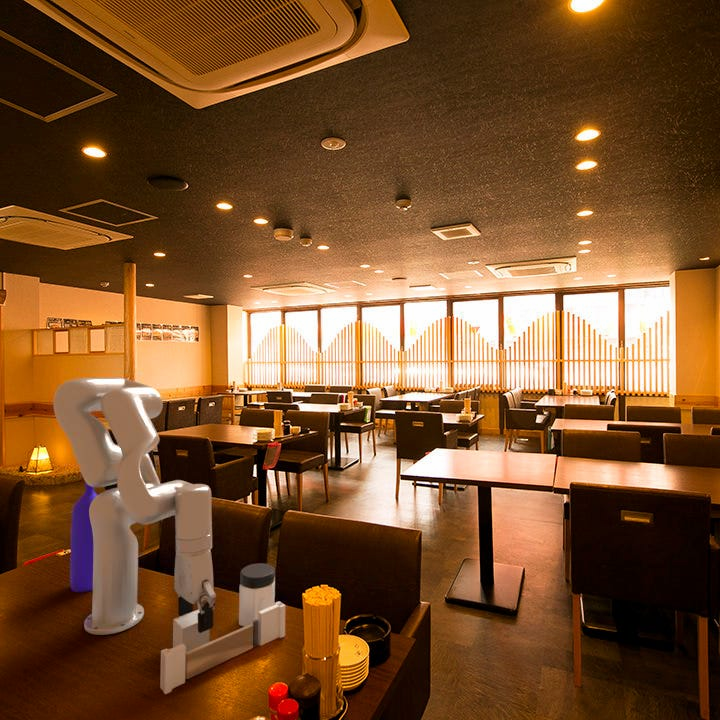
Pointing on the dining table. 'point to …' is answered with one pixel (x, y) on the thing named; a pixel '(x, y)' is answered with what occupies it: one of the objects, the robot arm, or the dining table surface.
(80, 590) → the bottle
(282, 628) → the white flat upright blocks
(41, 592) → the dining table surface
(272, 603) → the jar
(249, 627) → the gate
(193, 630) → the block
